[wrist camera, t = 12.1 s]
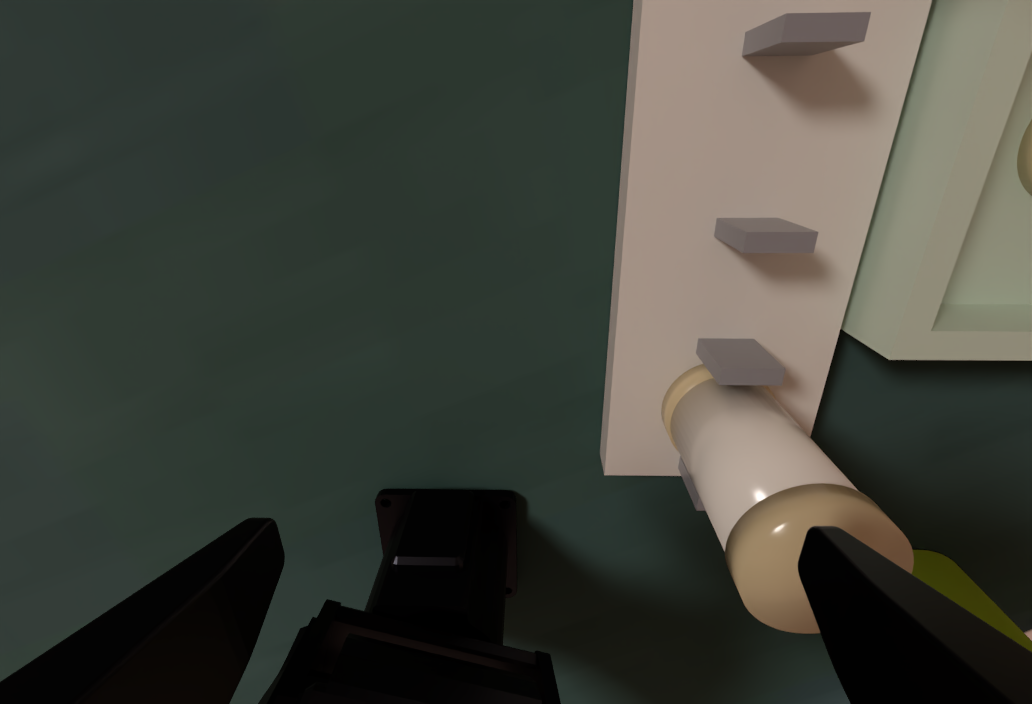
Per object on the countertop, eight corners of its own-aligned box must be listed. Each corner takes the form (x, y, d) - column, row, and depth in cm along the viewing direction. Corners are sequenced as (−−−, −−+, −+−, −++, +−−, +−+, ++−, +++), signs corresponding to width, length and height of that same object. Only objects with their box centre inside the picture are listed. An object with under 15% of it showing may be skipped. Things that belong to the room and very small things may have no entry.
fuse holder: (782, 455, 22) (832, 520, 18) (600, 453, 22) (613, 517, 18) (1019, -468, 11) (1251, -753, 8) (667, -452, 12) (729, -720, 8)
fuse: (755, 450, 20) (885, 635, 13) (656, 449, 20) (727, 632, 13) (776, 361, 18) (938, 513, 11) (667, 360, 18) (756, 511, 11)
